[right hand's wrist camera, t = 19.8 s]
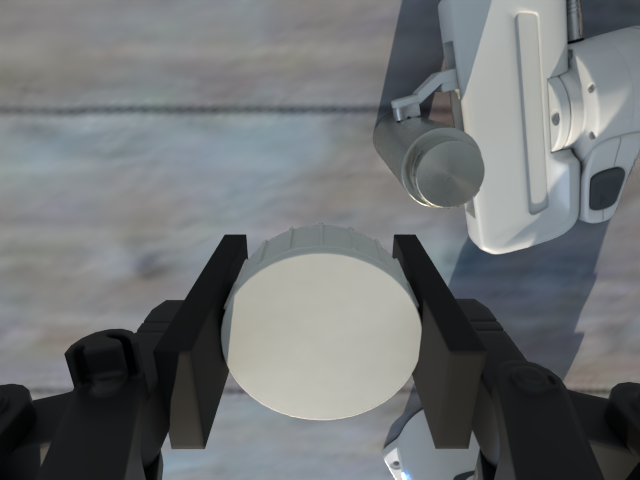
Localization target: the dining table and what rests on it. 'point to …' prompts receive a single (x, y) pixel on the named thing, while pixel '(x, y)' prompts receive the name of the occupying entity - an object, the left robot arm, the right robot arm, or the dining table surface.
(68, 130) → the dining table surface
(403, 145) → the grey cylinder
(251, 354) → the lid
